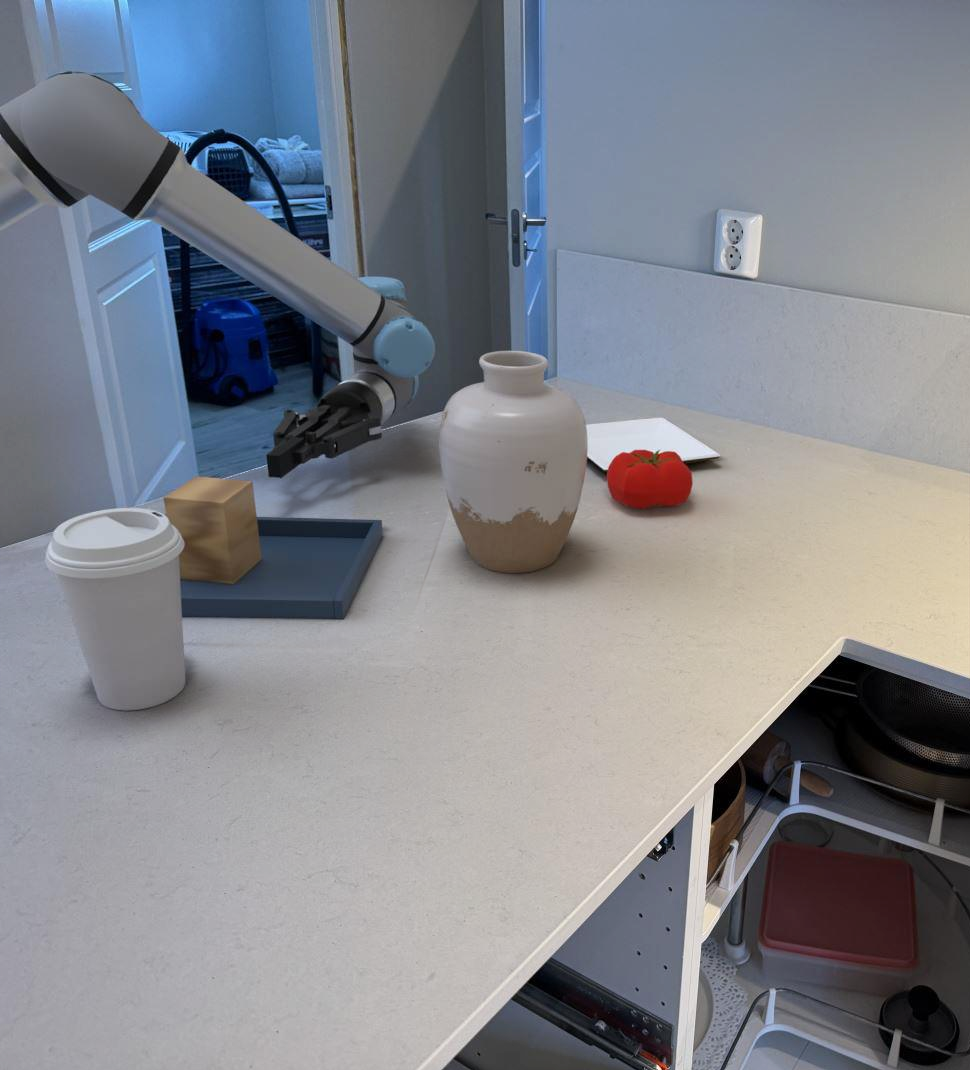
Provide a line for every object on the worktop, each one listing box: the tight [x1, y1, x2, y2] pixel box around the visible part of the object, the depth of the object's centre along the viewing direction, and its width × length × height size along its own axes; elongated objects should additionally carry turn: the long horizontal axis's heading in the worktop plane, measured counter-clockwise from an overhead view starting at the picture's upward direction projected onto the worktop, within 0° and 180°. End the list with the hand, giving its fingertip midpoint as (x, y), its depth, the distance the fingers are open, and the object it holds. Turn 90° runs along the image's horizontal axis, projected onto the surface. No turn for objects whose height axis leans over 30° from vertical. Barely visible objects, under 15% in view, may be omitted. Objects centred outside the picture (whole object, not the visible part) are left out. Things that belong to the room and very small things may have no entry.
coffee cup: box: [44, 507, 186, 711], centre depth 81 cm, size 10×10×15 cm
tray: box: [163, 513, 384, 620], centre depth 103 cm, size 24×20×2 cm
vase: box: [438, 350, 588, 574], centre depth 108 cm, size 16×16×23 cm
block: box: [163, 475, 262, 584], centre depth 101 cm, size 6×6×9 cm
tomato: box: [606, 450, 694, 510], centre depth 129 cm, size 10×11×6 cm
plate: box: [586, 417, 721, 473], centre depth 147 cm, size 19×19×2 cm
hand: (273, 466), depth 113 cm, fingers closed
